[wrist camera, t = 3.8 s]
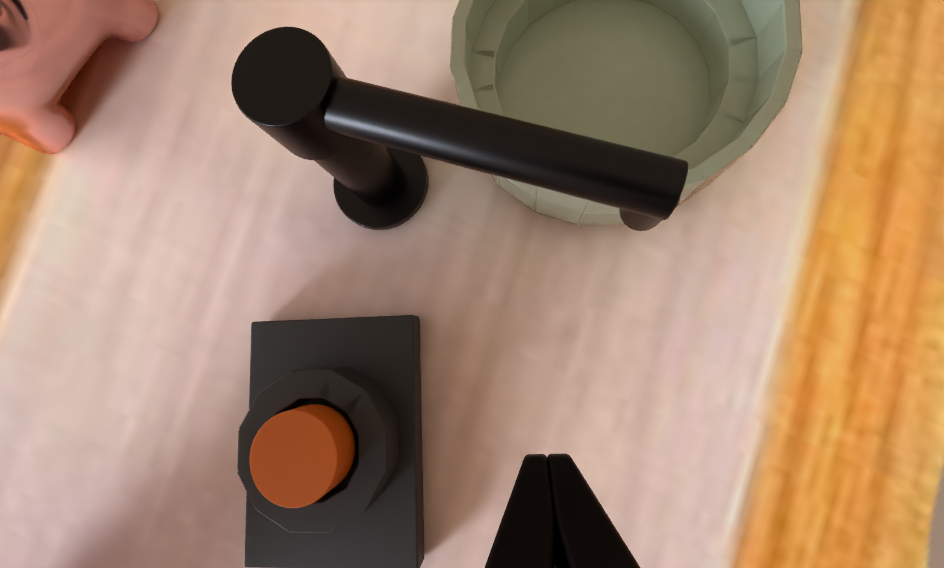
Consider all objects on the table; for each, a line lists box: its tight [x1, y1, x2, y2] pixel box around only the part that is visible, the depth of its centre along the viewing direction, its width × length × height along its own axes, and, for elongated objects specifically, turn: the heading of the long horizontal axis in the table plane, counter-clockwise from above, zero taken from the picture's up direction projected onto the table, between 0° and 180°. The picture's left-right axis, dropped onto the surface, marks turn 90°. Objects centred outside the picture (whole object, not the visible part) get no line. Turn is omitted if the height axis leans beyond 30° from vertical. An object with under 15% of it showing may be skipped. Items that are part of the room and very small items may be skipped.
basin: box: [450, 0, 802, 225], centre depth 19 cm, size 13×13×4 cm
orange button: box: [250, 404, 355, 508], centre depth 18 cm, size 4×4×2 cm
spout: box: [231, 27, 688, 231], centre depth 14 cm, size 14×3×3 cm, turn 72°
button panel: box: [238, 315, 424, 568], centre depth 20 cm, size 11×8×3 cm
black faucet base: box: [314, 138, 428, 230], centre depth 19 cm, size 5×5×6 cm
